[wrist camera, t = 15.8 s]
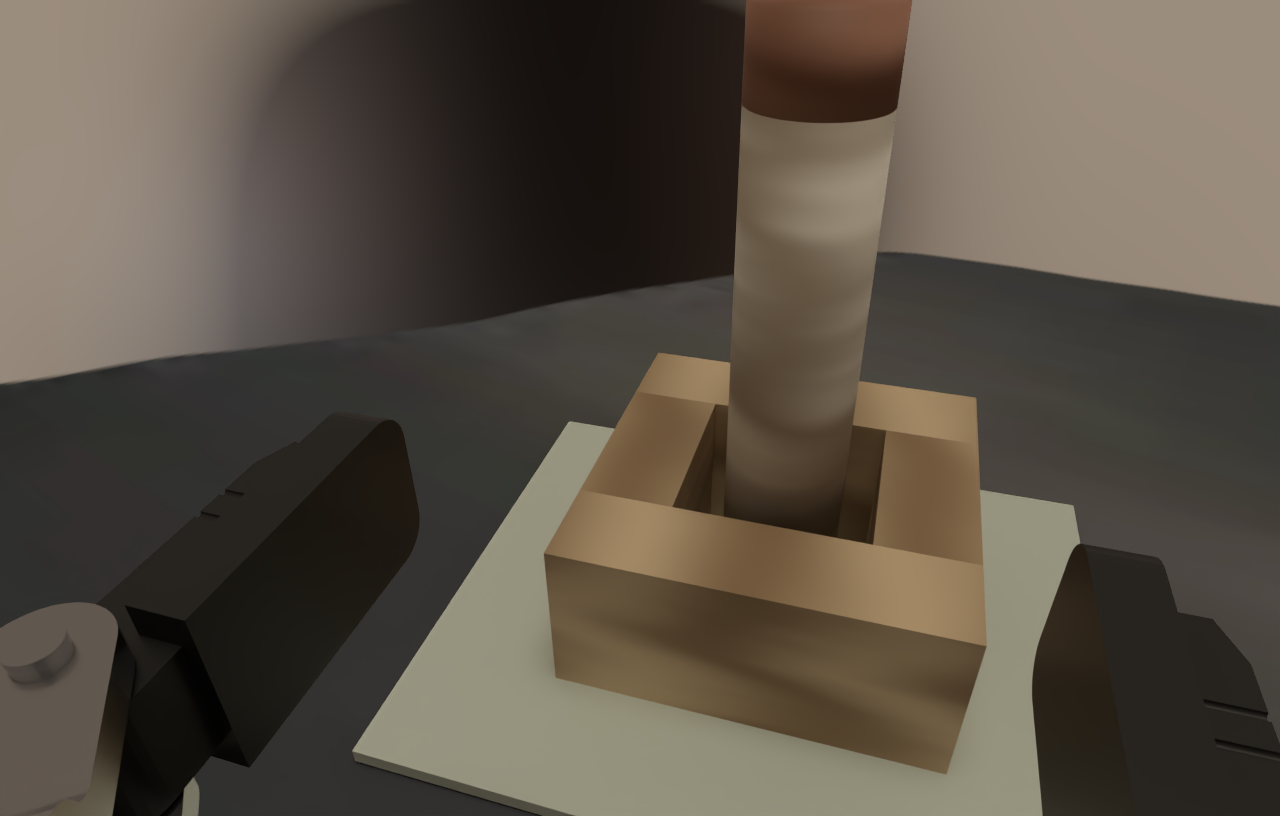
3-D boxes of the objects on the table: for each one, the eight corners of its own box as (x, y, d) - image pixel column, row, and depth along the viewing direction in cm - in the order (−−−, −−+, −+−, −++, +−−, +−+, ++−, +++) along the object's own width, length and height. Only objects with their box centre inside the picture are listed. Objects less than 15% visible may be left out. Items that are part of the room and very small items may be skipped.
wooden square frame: (947, 511, 28) (976, 397, 26) (946, 774, 20) (986, 646, 18) (658, 461, 31) (658, 352, 28) (555, 677, 23) (543, 553, 20)
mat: (1070, 514, 29) (1073, 505, 29) (1153, 993, 17) (1160, 985, 17) (569, 429, 33) (569, 421, 33) (355, 760, 21) (352, 751, 21)
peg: (833, 561, 26) (914, -11, 18) (822, 637, 24) (909, 13, 15) (732, 542, 27) (761, -14, 19) (709, 614, 25) (732, 8, 16)
